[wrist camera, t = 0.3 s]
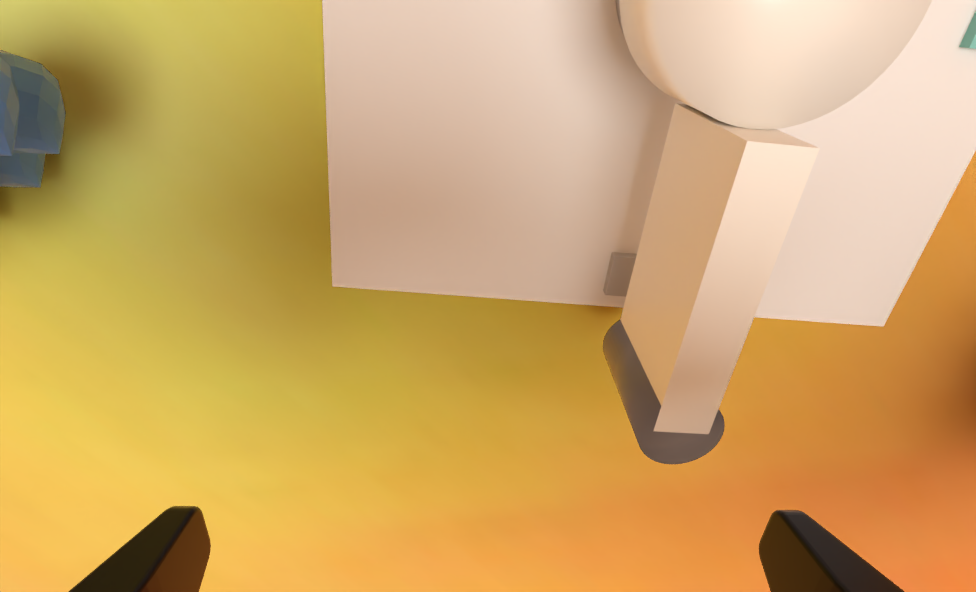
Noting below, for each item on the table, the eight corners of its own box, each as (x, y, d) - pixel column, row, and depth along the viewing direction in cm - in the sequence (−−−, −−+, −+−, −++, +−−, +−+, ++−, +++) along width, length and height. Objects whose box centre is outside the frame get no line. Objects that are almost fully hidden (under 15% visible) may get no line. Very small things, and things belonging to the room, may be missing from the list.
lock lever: (651, -184, 12) (737, -266, 8) (900, -147, 13) (1090, -209, 9) (547, 365, 20) (567, 459, 16) (709, 376, 20) (768, 469, 16)
